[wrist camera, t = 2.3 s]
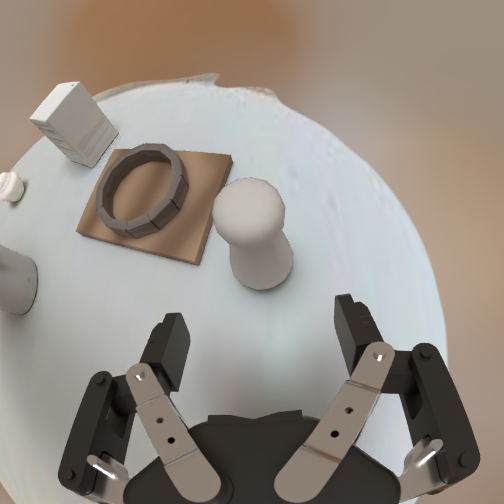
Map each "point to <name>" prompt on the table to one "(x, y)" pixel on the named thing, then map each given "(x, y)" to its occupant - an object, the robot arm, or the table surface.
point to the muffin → (10, 187)
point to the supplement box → (75, 123)
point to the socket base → (156, 200)
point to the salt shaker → (254, 232)
